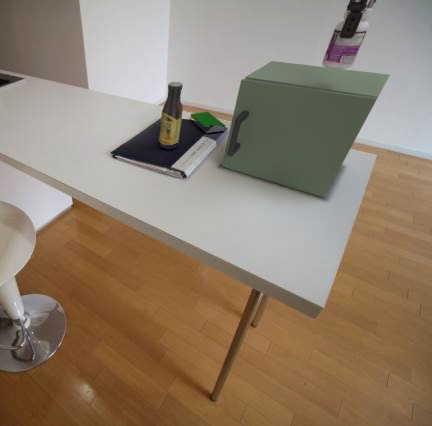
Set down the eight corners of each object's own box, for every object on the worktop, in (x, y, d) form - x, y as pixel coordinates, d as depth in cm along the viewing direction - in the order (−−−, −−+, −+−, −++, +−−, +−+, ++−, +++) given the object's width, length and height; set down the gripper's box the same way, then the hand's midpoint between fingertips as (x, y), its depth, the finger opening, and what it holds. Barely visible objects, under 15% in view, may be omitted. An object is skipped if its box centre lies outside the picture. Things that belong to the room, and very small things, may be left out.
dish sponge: (205, 134, 100) (207, 128, 98) (189, 119, 110) (190, 113, 109) (224, 132, 101) (226, 125, 99) (207, 117, 111) (208, 111, 110)
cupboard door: (319, 209, 67) (373, 108, 52) (213, 175, 80) (231, 86, 65) (324, 195, 71) (377, 97, 56) (222, 164, 84) (242, 78, 69)
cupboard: (324, 195, 71) (378, 96, 56) (224, 163, 85) (245, 76, 70) (341, 165, 81) (390, 74, 66) (249, 141, 95) (271, 60, 80)
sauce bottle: (155, 144, 96) (158, 82, 83) (170, 140, 98) (176, 78, 85) (166, 153, 91) (171, 88, 79) (182, 148, 93) (190, 84, 80)
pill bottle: (324, 61, 62) (345, 7, 56) (354, 64, 59) (379, 7, 53) (318, 67, 59) (339, 10, 53) (349, 70, 56) (375, 10, 50)
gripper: (430, -100, 39) (366, 43, 50) (435, -91, 47) (378, 31, 58) (363, -91, 43) (317, 40, 54) (378, -84, 51) (335, 29, 62)
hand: (349, 35), depth 56 cm, fingers closed on pill bottle, 5 cm apart
